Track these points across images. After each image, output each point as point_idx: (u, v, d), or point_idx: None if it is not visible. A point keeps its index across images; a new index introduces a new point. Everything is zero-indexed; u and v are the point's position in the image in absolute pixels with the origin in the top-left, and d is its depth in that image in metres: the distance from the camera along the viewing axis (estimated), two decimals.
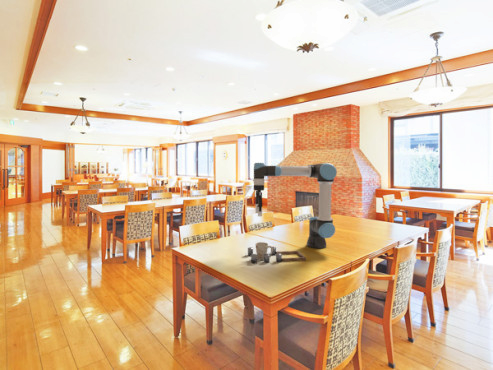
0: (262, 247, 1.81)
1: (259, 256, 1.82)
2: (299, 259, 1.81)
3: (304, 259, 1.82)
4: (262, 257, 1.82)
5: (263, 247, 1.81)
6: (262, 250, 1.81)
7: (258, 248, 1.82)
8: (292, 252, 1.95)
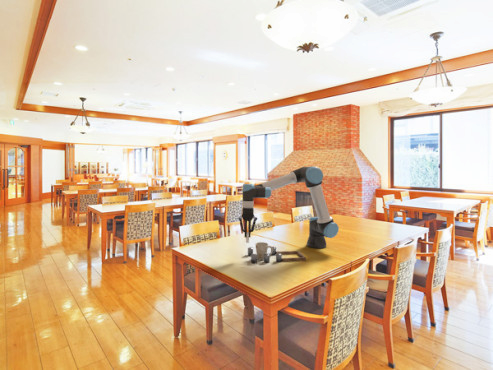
0: (262, 247, 1.81)
1: (259, 256, 1.82)
2: (299, 259, 1.81)
3: (304, 259, 1.82)
4: (262, 257, 1.82)
5: (263, 247, 1.81)
6: (262, 250, 1.81)
7: (258, 248, 1.82)
8: (292, 252, 1.95)
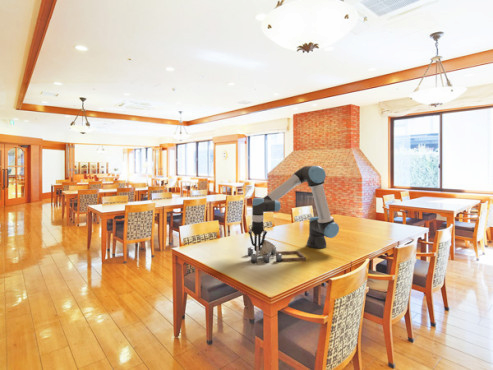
0: (270, 246, 1.81)
1: (262, 252, 1.82)
2: (299, 259, 1.81)
3: (304, 259, 1.82)
4: None
5: (270, 246, 1.81)
6: (268, 249, 1.81)
7: (265, 245, 1.82)
8: (292, 252, 1.95)
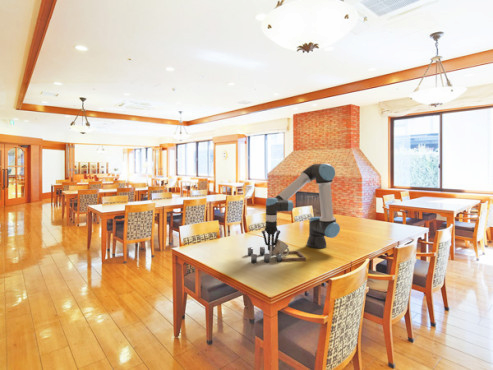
0: (283, 245, 1.83)
1: (276, 252, 1.84)
2: (299, 259, 1.81)
3: (304, 259, 1.82)
4: None
5: (284, 246, 1.83)
6: (282, 248, 1.83)
7: (279, 244, 1.83)
8: (292, 252, 1.95)
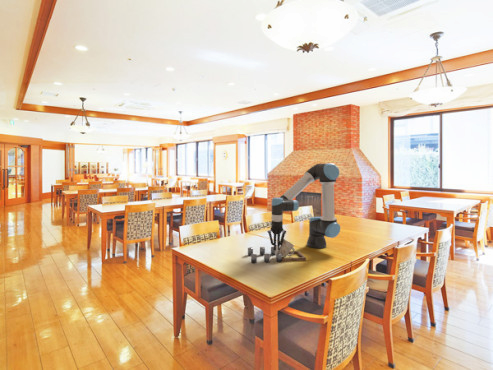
0: (290, 245, 1.84)
1: (282, 252, 1.84)
2: (299, 259, 1.81)
3: (304, 259, 1.82)
4: (284, 254, 1.84)
5: (290, 245, 1.84)
6: (288, 248, 1.84)
7: (285, 244, 1.84)
8: None
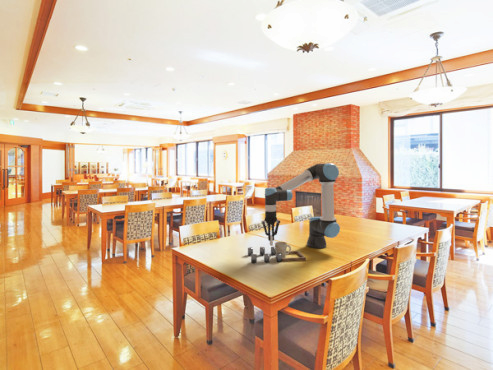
0: (283, 246, 1.83)
1: None
2: (299, 259, 1.81)
3: (304, 259, 1.82)
4: (282, 256, 1.84)
5: (283, 246, 1.83)
6: (282, 249, 1.83)
7: (278, 247, 1.83)
8: (292, 252, 1.95)
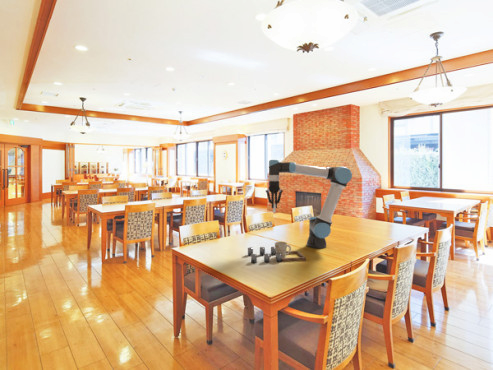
0: (283, 246, 1.83)
1: None
2: (299, 259, 1.81)
3: (304, 259, 1.82)
4: (282, 256, 1.84)
5: (283, 246, 1.83)
6: (282, 249, 1.83)
7: (278, 247, 1.83)
8: (292, 252, 1.95)
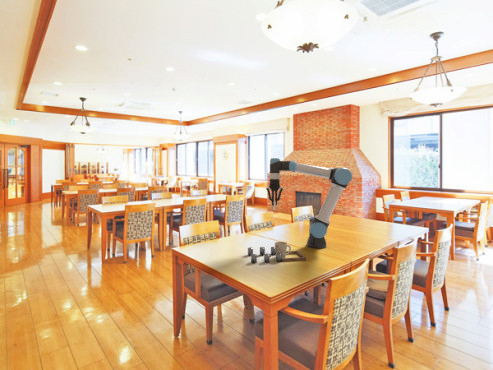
0: (283, 246, 1.83)
1: None
2: (299, 259, 1.81)
3: (304, 259, 1.82)
4: (282, 256, 1.84)
5: (283, 246, 1.83)
6: (282, 249, 1.83)
7: (278, 247, 1.83)
8: (292, 252, 1.95)
